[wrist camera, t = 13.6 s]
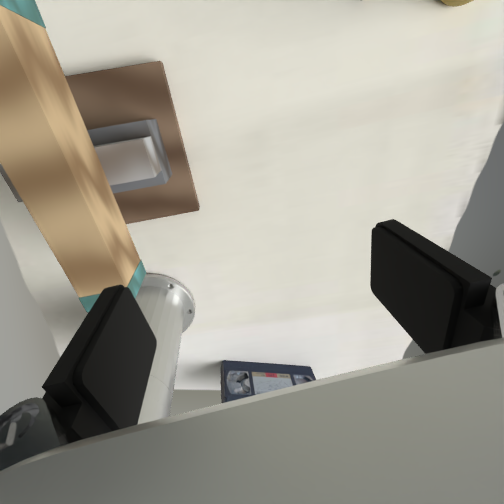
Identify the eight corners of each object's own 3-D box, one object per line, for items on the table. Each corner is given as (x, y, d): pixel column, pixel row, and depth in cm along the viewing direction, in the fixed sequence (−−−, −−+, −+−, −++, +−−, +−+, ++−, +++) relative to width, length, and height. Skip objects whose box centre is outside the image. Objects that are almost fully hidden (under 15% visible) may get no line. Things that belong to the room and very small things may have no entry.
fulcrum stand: (199, 206, 36) (194, 237, 27) (79, 229, 35) (34, 267, 26) (162, 63, 28) (139, 39, 19) (8, 88, 27) (-89, 76, 18)
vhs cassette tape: (311, 365, 54) (330, 414, 45) (306, 375, 55) (324, 425, 46) (223, 357, 49) (225, 410, 41) (219, 368, 51) (220, 421, 42)
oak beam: (146, 272, 28) (133, 303, 23) (107, 280, 28) (87, 312, 23) (33, -3, 18) (-29, -43, 13) (-30, 7, 17) (-115, -31, 13)
